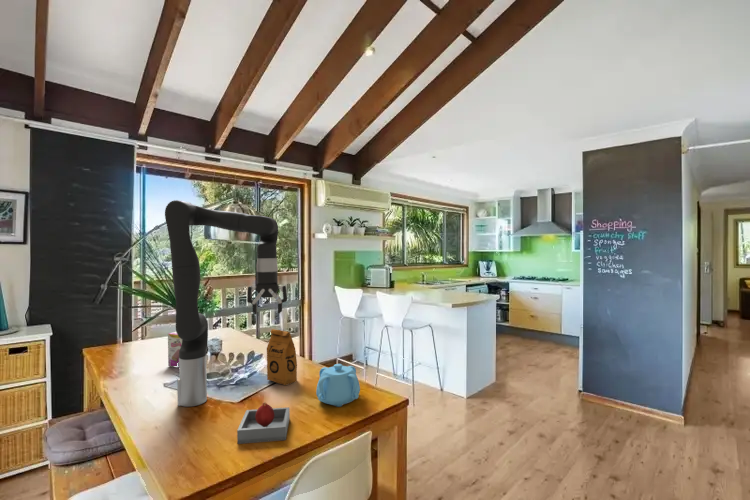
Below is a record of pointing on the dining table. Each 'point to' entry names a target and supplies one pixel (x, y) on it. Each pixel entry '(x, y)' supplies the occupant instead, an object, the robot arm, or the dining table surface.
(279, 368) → the coffee package
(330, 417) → the dining table surface
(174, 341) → the candy bar box
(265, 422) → the onion
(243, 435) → the bin
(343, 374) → the decorative pot
